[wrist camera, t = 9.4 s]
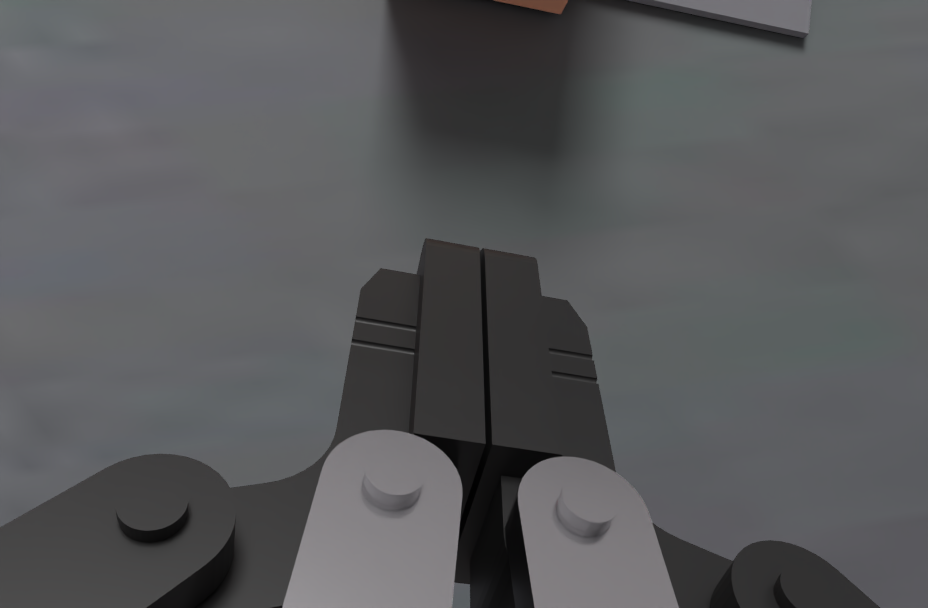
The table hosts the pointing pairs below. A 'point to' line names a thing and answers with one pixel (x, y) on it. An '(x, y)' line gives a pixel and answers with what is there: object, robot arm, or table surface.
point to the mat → (748, 12)
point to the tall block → (540, 4)
